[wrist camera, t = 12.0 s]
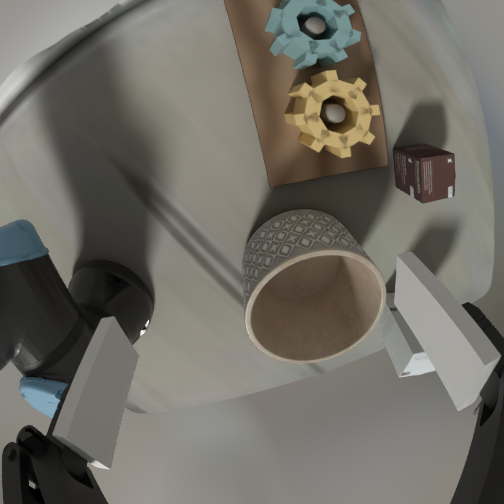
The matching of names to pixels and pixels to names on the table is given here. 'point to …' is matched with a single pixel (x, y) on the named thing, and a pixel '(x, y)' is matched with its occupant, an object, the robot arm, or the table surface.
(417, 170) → the box
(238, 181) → the table surface
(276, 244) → the planter
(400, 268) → the robot arm
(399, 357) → the skincare box
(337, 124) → the gear out
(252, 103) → the gear board
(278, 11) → the gear
